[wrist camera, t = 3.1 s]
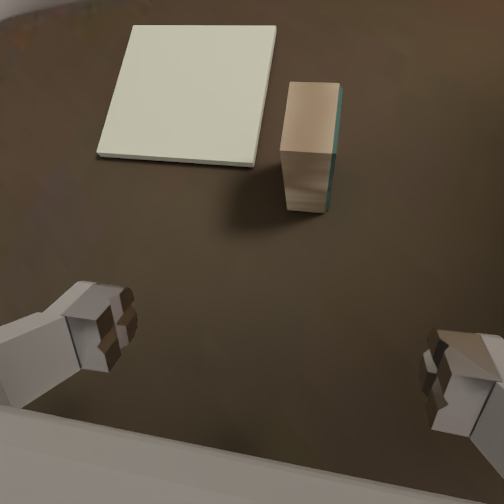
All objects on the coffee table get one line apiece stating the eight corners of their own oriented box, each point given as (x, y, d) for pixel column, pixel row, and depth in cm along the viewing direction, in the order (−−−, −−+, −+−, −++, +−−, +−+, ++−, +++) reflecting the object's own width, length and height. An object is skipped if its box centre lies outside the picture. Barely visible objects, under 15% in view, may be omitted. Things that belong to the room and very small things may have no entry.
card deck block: (333, 160, 26) (343, 83, 19) (327, 213, 25) (336, 153, 18) (294, 157, 26) (290, 81, 19) (287, 209, 25) (279, 150, 18)
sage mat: (276, 32, 30) (275, 25, 29) (253, 167, 26) (252, 163, 26) (136, 31, 32) (133, 25, 31) (100, 156, 29) (96, 152, 28)
